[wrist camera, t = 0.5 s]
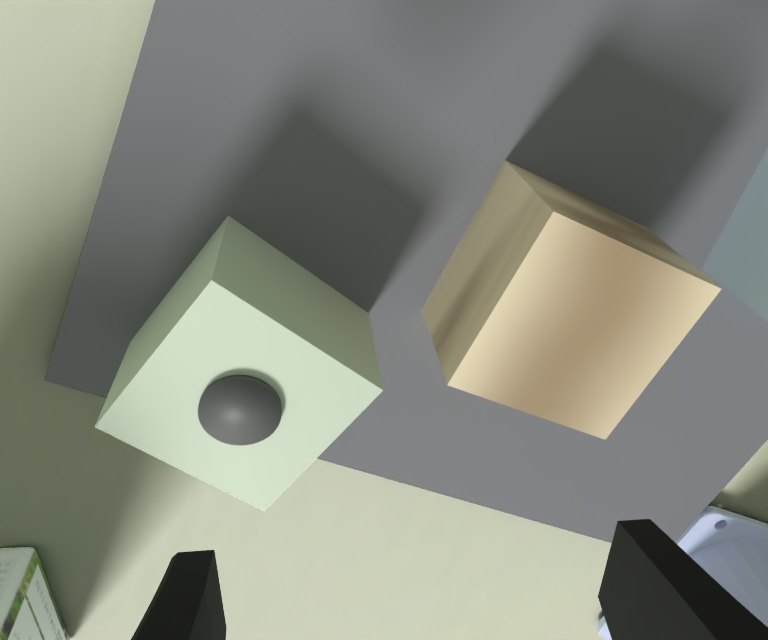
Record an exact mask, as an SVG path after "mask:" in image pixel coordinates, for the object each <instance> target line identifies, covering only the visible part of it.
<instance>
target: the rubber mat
mask: <svg viewBox="0 0 768 640" xmlns="http://www.w3.org/2000/svg"><path fill="white" fill-rule="evenodd" d="M767 148H768V0H156V1H155V4H154V8H153V11H152V15H151V18H150V21H149V25H148V28H147V32H146V35H145V38H144V42H143V45H142V49H141V52H140V55H139V59H138V62H137V66H136V69H135V72H134V76H133V79H132V83H131V86H130V90H129V93H128V96H127V100H126V103H125V107H124V110H123V113H122V117H121V120H120V124H119V127H118V130H117V134H116V137H115V141H114V144H113V147H112V151H111V154H110V158H109V161H108V165H107V168H106V171H105V175H104V178H103V182H102V185H101V188H100V192H99V195H98V199H97V202H96V205H95V209H94V212H93V216H92V219H91V222H90V226H89V229H88V233H87V236H86V240H85V243H84V246H83V250H82V253H81V257H80V260H79V263H78V267H77V270H76V274H75V277H74V280H73V284H72V287H71V291H70V294H69V298H68V301H67V304H66V308H65V311H64V315H63V318H62V321H61V325H60V328H59V332H58V335H57V338H56V342H55V345H54V349H53V352H52V355H51V359H50V362H49V366H48V369H47V373H46V376H45V379H44V380H46V381H49V382H53V383H56V384H60V385H63V386H67V387H70V388H74V389H77V390H81V391H84V392H88V393H91V394H95V395H98V396H102V397H105V398H107V396H108V394H109V391H110V389H111V386H112V384H113V382H114V379H115V377H116V375H117V372H118V370H119V367H120V365H121V363H122V360H123V358H124V356H125V353H126V351H127V348H128V346H129V344H130V341H131V340H132V339H133V338H134V336H135V335H136V334H137V332H138V331H139V330H140V328H141V327H142V326H143V325H144V323H145V322H146V321H147V319H148V318H149V317H150V316H151V314H152V313H153V312H154V310H155V309H156V308H157V307H158V305H159V304H160V303H161V301H162V300H163V299H164V298H165V296H166V295H167V294H168V292H169V291H170V290H171V288H172V287H173V286H174V285H175V283H176V282H177V281H178V279H179V278H180V277H181V276H182V274H183V273H184V272H185V270H186V269H187V268H188V267H189V265H190V264H191V263H192V261H193V260H194V259H195V257H196V256H197V255H198V254H199V252H200V251H201V250H202V248H203V247H204V246H205V245H206V243H207V242H208V241H209V239H210V238H211V237H212V236H213V234H214V233H215V232H216V230H217V229H218V228H219V227H220V225H221V224H222V223H223V221H224V220H225V219H226V217H227V216H230V217H231V218H233V219H234V220H236V221H237V222H239V223H240V224H241V225H243V226H244V227H246V228H247V229H249V230H250V231H251V232H253V233H254V234H256V235H257V236H259V237H260V238H262V239H263V240H264V241H266V242H267V243H269V244H270V245H272V246H273V247H274V248H276V249H277V250H279V251H280V252H282V253H283V254H285V255H286V256H287V257H289V258H290V259H292V260H293V261H295V262H296V263H297V264H299V265H300V266H302V267H303V268H305V269H306V270H308V271H309V272H310V273H312V274H313V275H315V276H316V277H318V278H319V279H320V280H322V281H323V282H325V283H326V284H328V285H329V286H330V287H332V288H333V289H335V290H336V291H338V292H339V293H341V294H342V295H343V296H345V297H346V298H348V299H349V300H351V301H352V302H353V303H355V304H356V305H358V306H359V307H361V308H362V309H364V310H365V311H366V312H368V313H369V317H370V323H371V328H372V333H373V339H374V344H375V349H376V355H377V360H378V365H379V371H380V376H381V381H382V386H383V391H382V392H381V393H380V394H379V395H378V396H377V397H376V398H375V399H374V400H373V401H372V403H371V404H370V405H369V406H368V407H367V408H366V409H365V410H364V411H363V412H362V413H361V414H360V415H359V416H358V417H357V418H356V419H355V420H354V421H353V422H352V423H351V424H350V425H349V426H348V427H347V428H346V429H345V430H344V431H343V432H342V433H341V434H340V435H339V436H338V437H337V438H336V439H335V440H334V441H333V442H332V443H331V444H330V445H329V446H328V447H327V448H326V449H325V450H324V451H323V452H322V453H321V455H320V456H319V457H318V459H321V460H325V461H328V462H331V463H335V464H338V465H342V466H345V467H349V468H352V469H356V470H359V471H363V472H366V473H370V474H373V475H377V476H380V477H384V478H387V479H391V480H394V481H398V482H401V483H405V484H408V485H412V486H415V487H419V488H422V489H426V490H429V491H432V492H436V493H439V494H443V495H446V496H450V497H453V498H457V499H460V500H464V501H467V502H471V503H474V504H478V505H481V506H485V507H488V508H492V509H495V510H499V511H502V512H506V513H509V514H513V515H516V516H520V517H523V518H526V519H530V520H533V521H537V522H540V523H544V524H547V525H551V526H554V527H558V528H561V529H565V530H568V531H572V532H575V533H579V534H582V535H586V536H589V537H593V538H596V539H600V540H603V541H607V542H610V543H612V541H613V537H614V533H615V529H616V525H617V521H624V520H638V519H651V520H652V521H653V522H654V523H655V524H656V525H657V526H658V527H659V528H660V529H661V530H662V531H664V532H665V533H666V534H667V535H668V536H669V537H670V538H671V539H672V540H673V541H674V542H675V541H676V540H677V539H678V538H679V537H680V536H681V535H682V534H683V533H684V531H685V530H686V529H687V528H688V527H689V526H690V525H691V524H692V523H693V521H694V520H695V519H696V518H697V517H698V516H699V515H700V514H701V513H702V511H703V510H704V509H705V508H706V507H707V506H708V505H709V504H710V503H711V502H712V500H713V499H714V498H715V497H716V496H717V495H718V494H719V493H720V492H721V490H722V489H723V488H724V487H725V486H726V485H727V484H728V483H729V482H730V481H731V479H732V478H733V477H734V476H735V475H736V474H737V473H738V472H739V471H740V469H741V468H742V467H743V466H744V465H745V464H746V463H747V462H748V461H749V460H750V458H751V457H752V456H753V455H754V454H755V453H756V452H757V451H758V450H759V448H760V447H761V446H762V445H763V444H764V443H765V442H766V441H767V440H768V322H767V321H766V320H765V319H763V318H762V317H761V316H760V315H758V314H757V313H756V312H755V311H753V310H752V309H751V308H750V307H749V306H747V305H746V304H745V303H744V302H742V301H741V300H740V299H739V298H737V297H736V296H735V295H734V294H732V293H731V292H730V291H729V290H728V289H726V288H725V287H724V286H723V285H721V284H720V283H719V282H718V281H716V280H715V279H714V278H713V277H711V276H710V275H709V274H708V273H707V272H705V271H704V270H703V269H702V267H703V265H704V264H705V262H706V260H707V258H708V256H709V254H710V253H711V251H712V249H713V247H714V245H715V244H716V242H717V240H718V238H719V236H720V234H721V233H722V231H723V229H724V227H725V225H726V223H727V222H728V220H729V218H730V216H731V214H732V212H733V211H734V209H735V207H736V205H737V203H738V201H739V200H740V198H741V196H742V194H743V192H744V190H745V189H746V187H747V185H748V183H749V181H750V179H751V178H752V176H753V174H754V172H755V170H756V169H757V167H758V165H759V163H760V161H761V159H762V158H763V156H764V154H765V152H766V150H767ZM505 160H506V161H508V162H510V163H512V164H514V165H516V166H519V167H521V168H523V169H525V170H527V171H529V172H531V173H533V174H535V175H537V176H539V177H542V178H544V179H546V180H548V181H550V182H552V183H554V184H556V185H558V186H560V187H563V188H565V189H567V190H569V191H571V192H573V193H575V194H577V195H579V196H581V197H583V198H586V199H588V200H590V201H592V202H594V203H596V204H598V205H600V206H602V207H604V208H607V209H609V210H611V211H613V212H615V213H617V214H619V215H621V216H623V217H625V218H627V219H630V220H632V221H634V222H636V223H638V224H640V225H642V226H644V227H646V228H648V229H649V230H650V231H652V232H653V233H654V234H655V235H656V236H658V237H659V238H660V239H661V240H663V241H664V242H665V243H666V244H667V245H669V246H670V247H671V248H672V249H674V250H675V251H676V252H677V253H678V254H680V255H681V256H682V257H683V258H685V259H686V260H687V261H688V262H689V263H691V264H692V265H693V266H694V267H696V268H697V269H698V270H699V271H700V272H702V273H703V274H704V275H705V276H707V277H708V278H709V279H710V280H711V281H713V282H714V283H715V284H716V285H717V286H719V287H720V288H721V291H720V292H719V293H718V294H717V296H716V297H715V298H714V300H713V301H712V302H711V304H710V305H709V306H708V307H707V309H706V310H705V311H704V313H703V314H702V315H701V317H700V318H699V319H698V320H697V322H696V323H695V324H694V326H693V327H692V328H691V329H690V331H689V332H688V333H687V335H686V336H685V337H684V339H683V340H682V341H681V342H680V344H679V345H678V346H677V348H676V349H675V350H674V352H673V353H672V354H671V355H670V357H669V358H668V359H667V361H666V362H665V363H664V364H663V366H662V367H661V368H660V370H659V371H658V372H657V374H656V375H655V376H654V377H653V379H652V380H651V381H650V383H649V384H648V385H647V387H646V388H645V389H644V390H643V392H642V393H641V394H640V396H639V397H638V398H637V400H636V401H635V402H634V403H633V405H632V406H631V407H630V409H629V410H628V411H627V412H626V414H625V415H624V416H623V418H622V419H621V420H620V422H619V423H618V424H617V425H616V427H615V428H614V429H613V431H612V432H611V433H610V435H609V436H608V437H607V438H606V440H605V439H602V438H599V437H596V436H593V435H590V434H587V433H584V432H581V431H578V430H576V429H573V428H570V427H567V426H564V425H561V424H558V423H555V422H552V421H549V420H547V419H544V418H541V417H538V416H535V415H532V414H529V413H526V412H523V411H520V410H518V409H515V408H512V407H509V406H506V405H503V404H500V403H497V402H494V401H492V400H489V399H486V398H483V397H480V396H477V395H474V394H471V393H468V392H465V391H463V390H460V389H457V388H454V387H451V386H448V385H447V383H446V380H445V377H444V374H443V371H442V368H441V365H440V362H439V359H438V356H437V353H436V350H435V347H434V344H433V341H432V338H431V336H430V333H429V330H428V327H427V324H426V321H425V318H424V315H423V312H422V308H423V306H424V304H425V302H426V301H427V299H428V297H429V295H430V293H431V292H432V290H433V288H434V286H435V284H436V283H437V281H438V279H439V277H440V276H441V274H442V272H443V270H444V268H445V267H446V265H447V263H448V261H449V259H450V258H451V256H452V254H453V252H454V251H455V249H456V247H457V245H458V243H459V242H460V240H461V238H462V236H463V234H464V233H465V231H466V229H467V227H468V225H469V224H470V222H471V220H472V218H473V217H474V215H475V213H476V211H477V209H478V208H479V206H480V204H481V202H482V200H483V199H484V197H485V195H486V193H487V191H488V190H489V188H490V186H491V184H492V183H493V181H494V179H495V177H496V175H497V174H498V172H499V170H500V168H501V166H502V165H503V163H504V161H505Z"/></svg>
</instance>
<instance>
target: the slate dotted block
mask: <svg viewBox="0 0 768 640" xmlns="http://www.w3.org/2000/svg"><path fill="white" fill-rule="evenodd" d="M702 269H703V270H704V271H705V272H707V273H708V274H709V275H710V276H711V277H713V278H714V279H715V280H716V281H718V282H719V283H720V284H721V285H723V286H724V287H725V288H726V289H728V290H729V291H730V292H731V293H732V294H734V295H735V296H736V297H737V298H739V299H740V300H741V301H742V302H744V303H745V304H746V305H747V306H749V307H750V308H751V309H752V310H753V311H755V312H756V313H757V314H758V315H760V316H761V317H762V318H763V319H765V320H766V321H767V322H768V148H767V150H766V152H765V154H764V156H763V158H762V159H761V161H760V163H759V165H758V167H757V169H756V170H755V172H754V174H753V176H752V178H751V179H750V181H749V183H748V185H747V187H746V189H745V190H744V192H743V194H742V196H741V198H740V200H739V201H738V203H737V205H736V207H735V209H734V211H733V212H732V214H731V216H730V218H729V220H728V222H727V223H726V225H725V227H724V229H723V231H722V233H721V234H720V236H719V238H718V240H717V242H716V244H715V245H714V247H713V249H712V251H711V253H710V254H709V256H708V258H707V260H706V262H705V264H704V265H703V267H702Z"/></svg>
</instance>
